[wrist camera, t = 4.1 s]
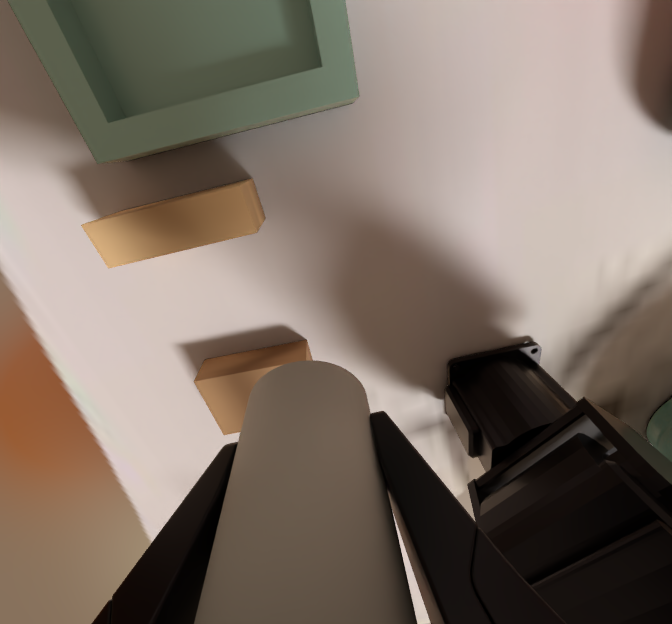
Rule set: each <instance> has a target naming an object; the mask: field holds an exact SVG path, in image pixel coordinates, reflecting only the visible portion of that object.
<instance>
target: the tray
mask: <svg viewBox="0 0 672 624" xmlns="http://www.w3.org/2000/svg"><path fill="white" fill-rule="evenodd" d="M7 1H8V3H9V4H10V6H11V8H12V10H13V12H14V13H15V15H16V17H17V19H18V21H19V23H20V24H21V26H22V28H23V30H24V32H25V33H26V35H27V37H28V39H29V41H30V42H31V44H32V46H33V48H34V50H35V51H36V53H37V55H38V57H39V59H40V61H41V62H42V64H43V66H44V68H45V70H46V71H47V73H48V75H49V77H50V79H51V80H52V82H53V84H54V86H55V88H56V89H57V91H58V93H59V95H60V97H61V99H62V100H63V102H64V104H65V106H66V108H67V109H68V111H69V113H70V115H71V117H72V118H73V120H74V122H75V124H76V126H77V127H78V129H79V131H80V133H81V135H82V137H83V138H84V140H85V142H86V144H87V146H88V147H89V149H90V151H91V153H92V155H93V156H94V158H95V160H96V162H97V164H102V163H113V162H124V161H130V160H133V159H137V158H141V157H145V156H149V155H153V154H157V153H161V152H165V151H169V150H172V149H176V148H180V147H184V146H188V145H192V144H196V143H200V142H204V141H208V140H211V139H215V138H219V137H223V136H227V135H231V134H235V133H239V132H243V131H247V130H250V129H254V128H258V127H262V126H266V125H270V124H274V123H278V122H282V121H286V120H289V119H293V118H297V117H301V116H305V115H309V114H313V113H317V112H321V111H325V110H328V109H332V108H336V107H340V106H344V105H348V104H352V103H353V102H354V101H355V100H356V99H357V98H358V97H359V91H358V84H357V78H356V71H355V64H354V57H353V50H352V43H351V37H350V30H349V23H348V16H347V9H346V3H345V0H7Z"/></svg>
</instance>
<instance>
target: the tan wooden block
mask: <svg viewBox="0 0 672 624" xmlns="http://www.w3.org/2000/svg"><path fill="white" fill-rule="evenodd" d="M307 360H311V361H313V360H312V356H311V353H310V349H309V346H308V342H307V340H303V341H298V342H292V343H287V344H282V345H277V346H272V347H267V348H262V349H257V350H251V351H246V352H241V353H236V354H231V355H226V356H221V357H216V358H210V359H205V360H204V362H203V364H202V366H201V368H200V370H199V372H198V374H197V376H196V378H195V380H194V383H195V385H196V386H197V388H198V390H199V392H200V393H201V395H202V397H203V399H204V401H205V402H206V404H207V406H208V408H209V409H210V411H211V413H212V415H213V417H214V418H215V420H216V422H217V424H218V426H219V427H220V429H221V431H222V433H223V434H224V435H227V434H232V433H237V432H241V428H242V424H243V420H244V416H245V412H246V408H247V404H248V400H249V396H250V393H251V391H252V389H253V387H254V385H255V384H256V383H257V382H258V380H259V379H260V378H261V377H263V376H264V375H265V374H266V373H268V372H269V371H271V370H273V369H275V368H277V367H279V366H282V365H284V364H288V363H291V362H297V361H307Z"/></svg>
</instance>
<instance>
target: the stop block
mask: <svg viewBox="0 0 672 624" xmlns="http://www.w3.org/2000/svg"><path fill="white" fill-rule="evenodd" d="M265 219H266V218H265V215H264V212H263V209H262V206H261V203H260V200H259V197H258V194H257V190H256V187H255V184H254V181H253V178H252V179H248V180H244V181H240V182H236V183H232V184H228V185H224V186H220V187H216V188H212V189H208V190H204V191H200V192H196V193H192V194H188V195H184V196H180V197H176V198H172V199H168V200H164V201H160V202H156V203H151V204H147V205H143V206H139V207H135V208H131V209H127V210H123V211H120V212H117V213H114V214H111V215H108V216H105V217H102V218H100V219H97V220H94V221H91V222H88V223H85V224H82V225H81V226H82V227H83V229H84V231H85V232H86V234H87V235H88V237H89V238H90V240H91V242H92V243H93V245H94V246H95V248H96V249H97V251H98V253H99V254H100V256H101V257H102V259H103V260H104V262H105V264H106V265H107V267H108V268H112V267H116V266H121V265H125V264H129V263H133V262H137V261H141V260H146V259H150V258H154V257H158V256H162V255H166V254H170V253H175V252H179V251H183V250H187V249H191V248H195V247H200V246H204V245H208V244H212V243H216V242H220V241H225V240H229V239H233V238H237V237H241V236H245V235H249V234H254V233H257V231H258V230H259V228H260V227H261V225H262V223H263V222H264V220H265Z"/></svg>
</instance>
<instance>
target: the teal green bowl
mask: <svg viewBox="0 0 672 624" xmlns="http://www.w3.org/2000/svg"><path fill="white" fill-rule="evenodd" d="M647 438H648V440H649V442H650V443H651V444H652V445H653V447H654V448H656V449H657V450H658V451H659V452H660V453H662V454H663V455H664V456H665V457H666V458H667V459H669V460H670V461H671V462H672V398H671V399H670V400H669V401H667V402H666V403H665V404H664V405H663V406H661V407H660V408H659V409H658V411H657V412H655V413H654V415H653V417H652V418H651V420H650V422H649V424H648V427H647Z"/></svg>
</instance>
